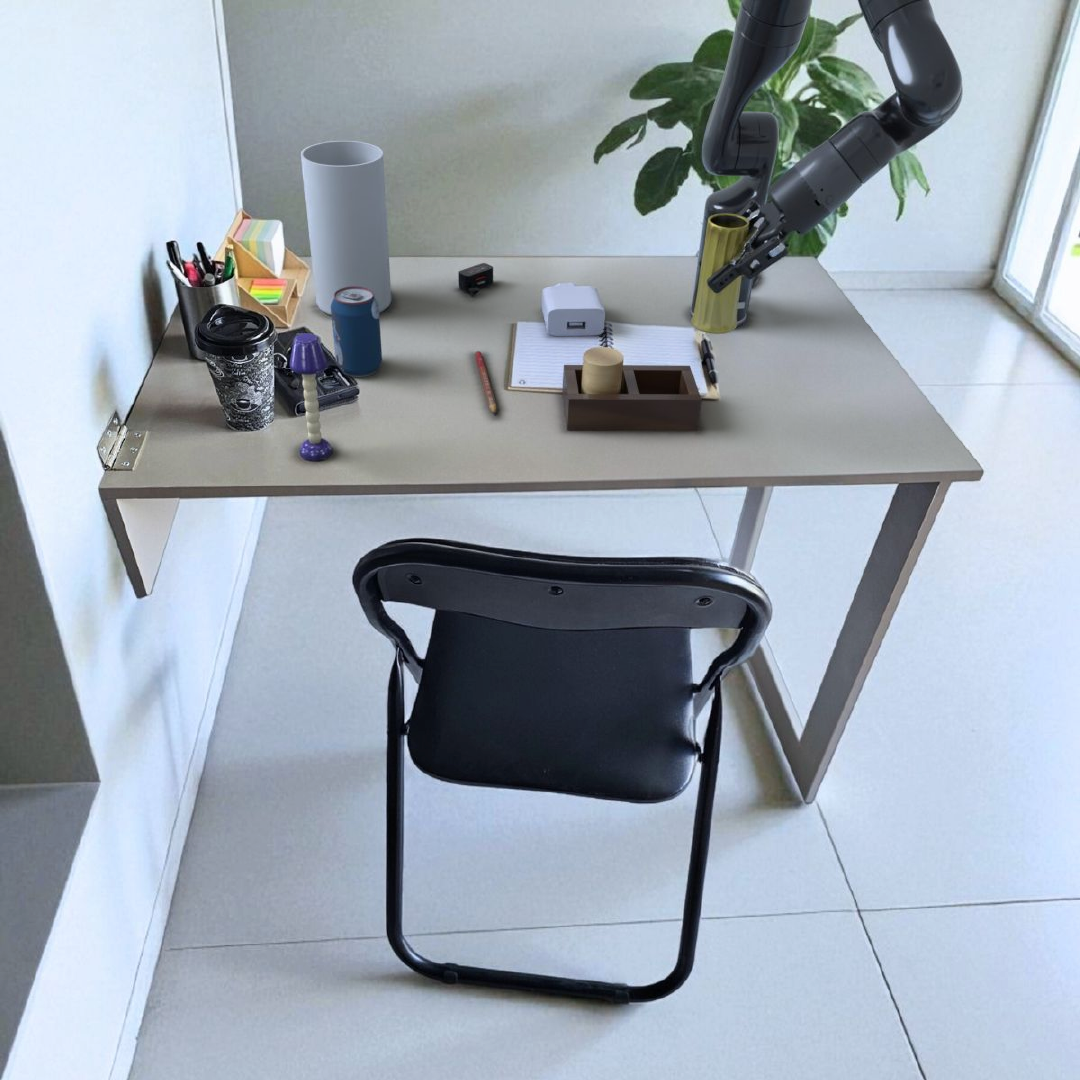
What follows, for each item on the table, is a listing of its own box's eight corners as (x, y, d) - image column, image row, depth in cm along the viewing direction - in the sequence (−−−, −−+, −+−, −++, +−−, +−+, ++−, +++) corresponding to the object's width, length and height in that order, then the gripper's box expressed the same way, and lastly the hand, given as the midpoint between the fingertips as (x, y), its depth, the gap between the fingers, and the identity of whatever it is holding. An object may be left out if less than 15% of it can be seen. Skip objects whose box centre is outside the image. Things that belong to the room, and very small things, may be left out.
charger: (590, 296, 182) (603, 335, 170) (537, 297, 181) (547, 336, 169) (591, 270, 179) (605, 308, 167) (538, 271, 178) (548, 309, 166)
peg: (596, 398, 154) (600, 343, 148) (626, 412, 151) (631, 356, 145) (571, 412, 150) (575, 355, 145) (601, 426, 147) (606, 369, 142)
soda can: (391, 364, 160) (387, 290, 152) (366, 383, 155) (361, 308, 147) (352, 353, 162) (346, 280, 155) (327, 372, 157) (320, 298, 150)
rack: (562, 394, 154) (563, 364, 151) (685, 395, 155) (690, 365, 152) (566, 430, 146) (568, 399, 143) (697, 430, 147) (701, 399, 144)
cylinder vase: (335, 284, 182) (322, 137, 167) (402, 294, 180) (395, 146, 164) (303, 313, 172) (286, 160, 157) (374, 325, 170) (363, 170, 155)
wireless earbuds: (453, 290, 182) (453, 272, 180) (484, 279, 186) (484, 262, 184) (471, 299, 179) (471, 281, 177) (501, 288, 183) (502, 270, 181)
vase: (740, 318, 142) (756, 215, 133) (732, 338, 137) (748, 232, 128) (696, 311, 143) (709, 208, 134) (686, 329, 138) (699, 225, 130)
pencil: (474, 356, 163) (474, 350, 162) (481, 356, 163) (481, 350, 163) (491, 418, 148) (491, 412, 148) (498, 418, 148) (499, 412, 148)
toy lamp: (302, 442, 141) (288, 329, 131) (336, 441, 142) (326, 329, 132) (298, 461, 138) (284, 347, 127) (334, 461, 138) (322, 346, 128)
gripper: (783, 147, 133) (679, 237, 140) (812, 186, 122) (698, 282, 128) (815, 189, 137) (713, 274, 143) (847, 231, 125) (734, 321, 132)
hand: (707, 277), depth 136 cm, fingers closed on vase, 5 cm apart
